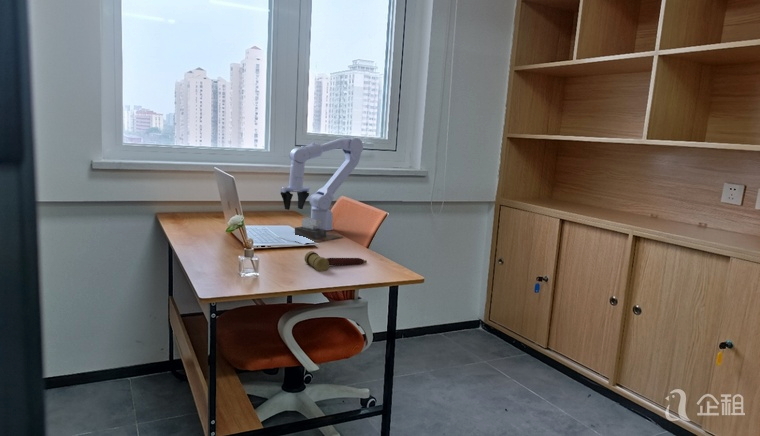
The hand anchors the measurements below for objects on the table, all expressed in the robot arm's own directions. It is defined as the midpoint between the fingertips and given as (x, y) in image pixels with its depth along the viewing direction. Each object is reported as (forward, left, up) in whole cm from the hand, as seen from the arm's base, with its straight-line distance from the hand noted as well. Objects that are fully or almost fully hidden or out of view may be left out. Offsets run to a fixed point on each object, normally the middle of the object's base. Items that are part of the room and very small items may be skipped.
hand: (293, 209), depth 229 cm
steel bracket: (+3, +13, -9) cm, 16 cm away
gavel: (+26, +50, -10) cm, 57 cm away
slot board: (+3, +13, -9) cm, 17 cm away
